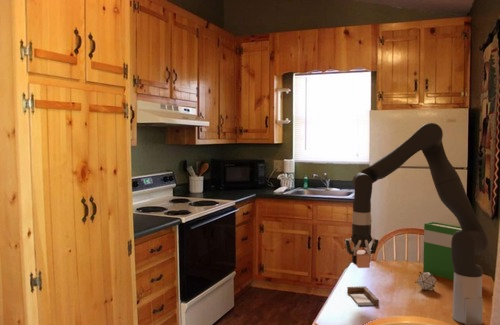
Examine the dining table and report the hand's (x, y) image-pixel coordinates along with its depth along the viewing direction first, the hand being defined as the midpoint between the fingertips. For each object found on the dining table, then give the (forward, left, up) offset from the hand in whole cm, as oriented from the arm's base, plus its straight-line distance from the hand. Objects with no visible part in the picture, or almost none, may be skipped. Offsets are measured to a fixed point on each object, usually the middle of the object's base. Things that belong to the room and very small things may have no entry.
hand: (361, 263), depth 174 cm
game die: (+8, -32, -15) cm, 36 cm away
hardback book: (+26, -50, -15) cm, 58 cm away
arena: (0, -1, -15) cm, 15 cm away
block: (0, 0, 0) cm, 0 cm away
